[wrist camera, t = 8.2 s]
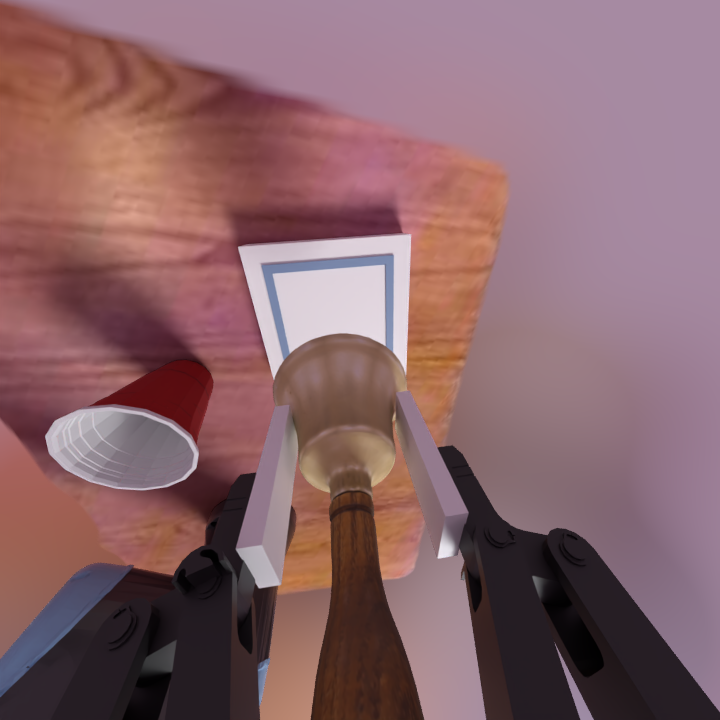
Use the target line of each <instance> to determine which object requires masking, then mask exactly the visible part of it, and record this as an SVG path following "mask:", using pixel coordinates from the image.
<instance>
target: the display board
mask: <svg viewBox="0 0 720 720" xmlns="http://www.w3.org/2000/svg"><path fill="white" fill-rule="evenodd" d="M238 249H239V253H240V256H241V260H242V264H243V267H244V271H245V275H246V279H247V282H248V286H249V290H250V293H251V297H252V301H253V304H254V308H255V312H256V316H257V319H258V323H259V327H260V330H261V334H262V338H263V342H264V345H265V349H266V353H267V356H268V360H269V364H270V367H271V371H272V375H273V379H275V375H276V373H277V371H278V369H279V367H280V365H281V364H282V362H283V361H284V360H285V359H286V357H287V356H288V355H289V354H290V353H291V352H292V351H294V350H295V349H296V348H298V347H299V346H300V345H302V344H304V343H306V342H308V341H310V340H312V339H315V338H318V337H322V336H326V335H330V334H338V333H348V334H357V335H361V336H365V337H369V338H371V339H373V340H375V341H377V342H379V343H381V344H383V345H384V346H386V347H387V348H389V349H390V350H391V351H392V352H393V353H394V354H395V355H396V357H397V358H398V359H399V361H400V362H401V364H402V366H403V368H404V371H405V374H406V361H407V333H408V306H409V279H410V251H411V234H406V233H396V234H382V235H368V236H354V237H340V238H326V239H312V240H298V241H285V242H271V243H257V244H246V245H243V246H239V247H238Z"/></svg>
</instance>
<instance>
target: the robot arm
mask: <svg viewBox="0 0 720 720" xmlns="http://www.w3.org/2000/svg"><path fill="white" fill-rule="evenodd" d="M395 430H396V433H397V436H398V439H399V442H400V445H401V448H402V452H403V455H404V458H405V461H406V464H407V467H408V470H409V473H410V476H411V479H412V482H413V485H414V488H415V491H416V495H417V498H418V501H419V504H420V507H421V510H422V513H423V516H424V519H425V522H426V525H427V528H428V531H429V534H430V537H431V541H432V543H433V547H434V550H435V553H436V556H437V558H444V557H450V556H456V555H458V551H459V548H460V550H461V553H462V556H463V558H464V565H463V568H462V572H461V580H464V579H465V580H466V587H467V593H468V600H469V607H470V613H471V620H472V627H473V633H474V640H475V647H476V654H477V660H478V667H479V673H480V680H481V687H482V693H483V700H484V707H485V714H486V720H580V718H579V715H578V712H577V709H576V706H575V703H574V700H573V697H572V694H571V691H570V688H569V685H568V682H567V679H566V676H565V673H564V670H563V667H562V664H561V661H560V658H559V655H558V652H557V649H556V646H557V648H558V650H559V652H560V654H561V656H562V658H563V660H564V661H565V664H566V666H567V667H568V669H569V672H570V673H571V675H572V677H573V679H574V681H575V683H576V685H577V687H578V689H579V691H580V693H581V695H582V697H583V699H584V701H585V703H586V705H587V707H588V709H589V711H590V713H591V715H592V717H593V719H594V720H720V712H719V711H718V710H717V708H716V707H715V706H714V704H713V703H712V702H711V700H710V699H709V698H708V696H707V695H706V694H705V693H704V691H703V690H702V689H701V687H700V686H699V685H698V683H697V682H696V681H695V680H694V678H693V677H692V676H691V674H690V673H689V672H688V670H687V669H686V668H685V667H684V665H683V664H682V663H681V661H680V660H679V659H678V657H677V656H676V655H675V654H674V652H673V651H672V650H671V648H670V647H669V646H668V644H667V643H666V642H665V641H664V639H663V638H662V637H661V636H660V634H659V633H658V631H657V630H656V629H655V628H654V626H653V625H652V624H651V622H650V621H649V620H648V618H647V617H646V616H645V615H644V613H643V612H642V611H641V609H640V608H639V607H638V605H637V604H636V603H635V602H634V600H633V599H632V598H631V596H630V595H629V594H628V592H627V591H626V590H625V588H624V587H623V586H622V585H621V583H620V582H619V581H618V579H617V578H616V577H615V576H614V574H613V573H612V572H611V570H610V569H609V568H608V566H607V565H606V564H605V563H604V561H603V560H602V559H601V558H600V556H599V555H598V553H597V552H596V551H595V549H594V548H593V547H592V546H591V545H590V544H589V543H588V542H587V541H586V540H585V539H583V538H582V537H580V536H579V535H577V534H576V533H574V532H572V531H569V530H567V529H560V528H556V529H553V530H551V531H550V532H549V534H548V535H543V534H538V533H533V532H528V531H523V530H520V529H517V528H515V527H513V526H511V525H510V524H509V523H507V522H506V521H504V520H503V519H502V518H501V517H500V516H499V515H498V514H497V512H496V511H495V510H494V508H493V506H492V505H491V503H490V501H489V499H488V498H487V496H486V494H485V492H484V491H483V489H482V487H481V486H480V484H479V482H478V480H477V479H476V477H475V476H474V474H473V472H472V470H471V468H470V467H469V465H468V463H467V461H466V460H465V458H464V456H463V454H461V452H459V451H458V450H457V449H456V448H455V447H454V446H445V447H438V448H437V446H436V444H435V442H434V440H433V438H432V436H431V434H430V432H429V430H428V428H427V426H426V424H425V422H424V419H423V417H422V415H421V413H420V411H419V409H418V407H417V405H416V403H415V401H414V399H413V397H412V395H411V393H410V391H402V392H396V415H395ZM297 453H298V440H297V433H296V430H295V426H294V422H293V416H292V412H291V408H290V405H283V406H275V408H274V412H273V416H272V419H271V423H270V426H269V430H268V434H267V437H266V441H265V444H264V448H263V452H262V455H261V459H260V463H259V466H258V470H257V473H250V474H242V475H240V476H239V477H238V479H237V480H236V481H235V483H234V484H233V485H232V486H231V489H230V492H229V495H228V497H227V500H225V501H223V502H221V503H220V504H218V505H217V506H216V507H215V508H214V509H213V511H212V513H211V515H210V518H209V520H208V523H207V526H206V530H205V546H201V547H199V548H198V549H196V550H194V551H193V552H191V553H190V554H189V555H188V556H187V557H186V558H185V559H184V560H183V561H182V562H181V564H180V565H179V567H178V568H177V570H176V571H175V574H174V575H168V574H163V573H157V572H153V571H148V570H143V569H138V568H133V567H134V565H128V566H122V565H115V564H107V563H94V564H90V565H88V566H86V567H84V568H82V569H80V570H79V571H78V572H76V573H75V574H74V575H73V576H72V577H71V578H70V579H69V580H68V581H67V582H66V584H65V585H64V586H63V587H62V588H61V589H60V590H59V591H58V593H57V594H56V595H55V596H54V597H53V598H52V599H51V601H50V602H49V603H48V604H47V605H46V606H45V608H44V609H43V610H42V611H41V612H40V613H39V615H38V616H37V617H36V618H35V619H34V620H33V622H32V623H31V624H30V625H29V626H28V627H27V629H26V630H25V631H24V632H23V633H22V634H21V636H20V637H19V638H18V639H17V640H16V641H15V642H14V644H13V645H12V646H11V647H10V649H9V650H8V651H7V652H6V653H5V654H4V655H3V657H2V658H1V659H0V720H260V711H259V710H260V709H259V706H260V704H261V700H262V695H263V690H264V685H265V680H266V674H267V669H268V665H269V662H270V658H269V653H270V645H271V638H272V629H273V622H274V614H275V606H276V597H277V590H278V585H281V582H282V574H283V566H284V558H285V556H286V553H287V551H288V548H289V546H290V543H291V541H292V538H293V536H294V532H295V526H296V513H295V511H294V510H293V508H292V507H291V501H292V493H293V485H294V477H295V469H296V461H297ZM554 642H555V643H554ZM555 644H556V646H555Z"/></svg>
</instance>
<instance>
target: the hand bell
mask: <svg viewBox="0 0 720 720" xmlns="http://www.w3.org/2000/svg"><path fill="white" fill-rule="evenodd" d="M402 391H407V379H406V374H405V371H404V368H403V366H402V364H401V362H400V361H399V359H398V358H397V357H396V355H395V354H394V353H393V352H392V351H391V350H390V349H389V348H387V347H386V346H384V345H383V344H381V343H379V342H377V341H375V340H373V339H371V338H369V337H365V336H361V335H357V334H348V333H338V334H330V335H326V336H322V337H318V338H315V339H312V340H310V341H308V342H306V343H304V344H302V345H300V346H299V347H298V348H296V349H295V350H294V351H292V352H291V353H290V354H289V355H288V356H287V357H286V359H285V360H284V361H283V362H282V364H281V365H280V367H279V369H278V371H277V373H276V375H275V379H274V383H273V398H274V402H275V406H283V405H290V408H291V412H292V416H293V422H294V426H295V430H296V433H297V440H298V451H299V467H300V470H301V472H302V475H303V476H304V478H305V479H306V480H307V481H308V482H309V483H310V484H311V485H313V486H314V487H316V488H318V489H320V490H322V491H326V492H329V493H330V496H331V504H330V508H329V516H330V521H331V557H332V589H331V601H330V609H329V616H328V620H327V625H326V630H325V635H324V639H323V644H322V648H321V653H320V659H319V664H318V669H317V675H316V681H315V689H314V697H313V705H312V714H311V720H424V717H423V713H422V709H421V705H420V700H419V696H418V692H417V688H416V685H415V681H414V678H413V674H412V671H411V667H410V664H409V661H408V658H407V655H406V652H405V649H404V646H403V643H402V640H401V637H400V635H399V632H398V630H397V627H396V625H395V622H394V620H393V618H392V614H391V612H390V609H389V606H388V602H387V599H386V595H385V591H384V587H383V583H382V578H381V572H380V565H379V556H378V546H377V536H376V527H375V521H374V518H373V517H374V506H373V501H372V497H373V493H372V487H373V486H375V485H376V484H378V483H379V482H381V481H382V480H383V479H384V478H385V477H386V476H387V475H388V474H389V472H390V471H391V469H392V467H393V465H394V462H395V454H396V451H395V444H394V439H393V429H392V422H393V421H394V420H395V415H396V392H402Z"/></svg>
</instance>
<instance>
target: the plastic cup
mask: <svg viewBox="0 0 720 720" xmlns="http://www.w3.org/2000/svg"><path fill="white" fill-rule="evenodd" d="M212 389H213V379H212V376H211V374H210V373H209V372H208V370H207V369H206V368H205V367H203V366H201V365H200V364H198V363H196V362H193V361H189V360H176V361H174V362H171V363H169V364H166V365H164V366H162V367H161V368H159V369H157V370H155V371H153V372H151V373H149V374H146V375H145V376H143V377H141V378H139V379H138V380H136V381H134V382H132V383H131V384H129V385H127V386H125V387H124V388H122V389H120V390H118V391H117V392H115V393H113V394H111V395H110V396H108V397H106V398H104V399H101V400H99V401H97V402H96V403H94V404H92V405H90V406H88V407H83V408H81V409H78V410H76V411H74V412H72V413H70V414H67V415H65V416H63V417H61V418H59V419H57V420H55V421H54V423H53V424H52V426H51V428H50V429H49V431H48V432H47V434H46V436H45V438H46V443H47V447H48V451H49V454H50V455H51V456H52V457H53V458H54V459H55V460H56V461H57V462H58V463H59V464H60V465H61V466H62V467H63V468H64V469H65V470H67V471H69V472H71V473H73V474H75V475H77V476H79V477H81V478H83V479H85V480H87V481H89V482H92V483H96V484H100V485H104V486H108V487H112V488H116V489H130V490H149V489H156V488H164V487H168V486H171V485H173V484H175V483H178V482H180V481H183V480H185V479H186V478H187V477H188V476H189V475H190V474H191V473H192V472H193V471H194V470H195V469H196V467H197V461H198V455H199V449H198V447H197V439H198V434H199V431H200V428H201V425H202V422H203V419H204V416H205V413H206V410H207V406H208V401H209V399H210V396H211V393H212Z"/></svg>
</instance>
